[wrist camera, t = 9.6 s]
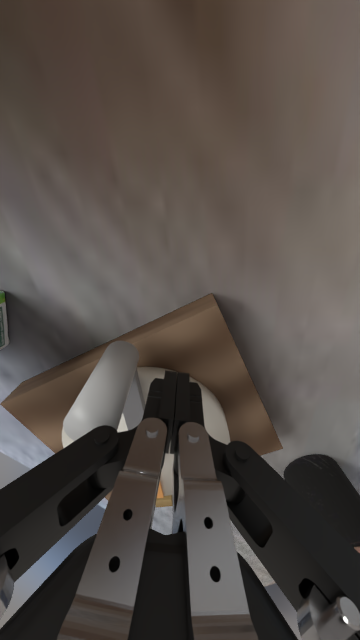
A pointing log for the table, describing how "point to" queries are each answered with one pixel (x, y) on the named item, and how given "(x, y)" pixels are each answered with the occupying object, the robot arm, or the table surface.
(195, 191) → the table surface
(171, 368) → the dial stand
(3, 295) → the syrup box
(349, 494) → the travel mug
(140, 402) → the dial
